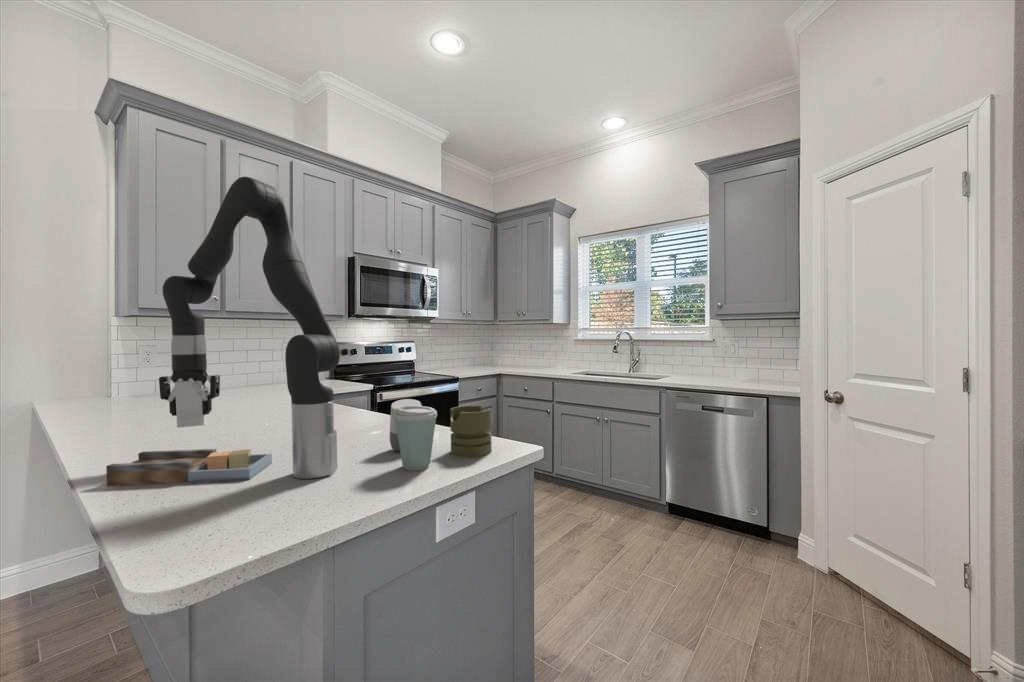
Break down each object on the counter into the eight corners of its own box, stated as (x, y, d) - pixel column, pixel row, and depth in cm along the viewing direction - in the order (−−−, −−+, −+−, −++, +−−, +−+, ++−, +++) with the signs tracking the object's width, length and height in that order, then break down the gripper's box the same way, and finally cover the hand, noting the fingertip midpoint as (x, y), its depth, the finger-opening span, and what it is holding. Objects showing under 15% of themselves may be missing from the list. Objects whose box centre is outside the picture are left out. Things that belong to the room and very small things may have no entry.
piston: (461, 414, 118) (443, 408, 128) (462, 460, 119) (444, 450, 128) (498, 409, 125) (479, 404, 134) (499, 453, 125) (479, 444, 134)
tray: (271, 463, 117) (271, 453, 117) (249, 479, 104) (249, 468, 104) (217, 465, 116) (217, 456, 116) (188, 482, 103) (188, 471, 103)
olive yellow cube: (232, 466, 113) (251, 464, 114) (229, 471, 109) (248, 469, 110) (232, 450, 112) (250, 449, 114) (228, 454, 109) (248, 453, 110)
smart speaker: (388, 455, 124) (388, 404, 123) (390, 447, 133) (390, 399, 132) (424, 453, 126) (423, 402, 125) (423, 445, 135) (423, 397, 134)
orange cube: (231, 467, 112) (230, 450, 112) (227, 471, 109) (226, 455, 109) (212, 468, 111) (211, 452, 111) (207, 473, 107) (207, 456, 107)
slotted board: (216, 466, 115) (216, 448, 115) (189, 482, 103) (189, 462, 103) (143, 469, 113) (142, 451, 113) (107, 486, 101) (106, 466, 101)
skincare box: (206, 422, 124) (205, 378, 124) (204, 425, 120) (203, 380, 120) (178, 425, 121) (177, 380, 121) (175, 428, 117) (174, 381, 117)
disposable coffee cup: (433, 459, 120) (433, 402, 119) (442, 470, 110) (441, 408, 109) (392, 463, 116) (391, 405, 116) (397, 476, 106) (396, 412, 106)
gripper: (225, 351, 125) (226, 411, 125) (168, 352, 123) (170, 413, 123) (210, 352, 117) (212, 416, 118) (150, 353, 116) (152, 418, 116)
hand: (190, 414), depth 121 cm, fingers closed on skincare box, 7 cm apart
